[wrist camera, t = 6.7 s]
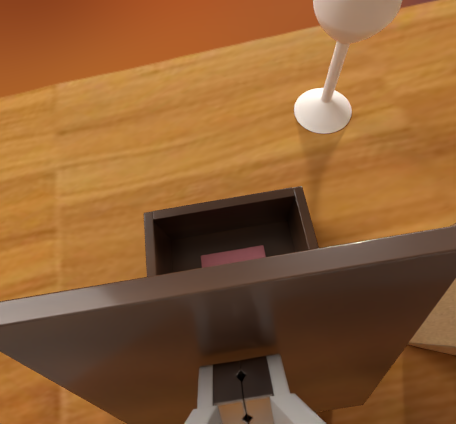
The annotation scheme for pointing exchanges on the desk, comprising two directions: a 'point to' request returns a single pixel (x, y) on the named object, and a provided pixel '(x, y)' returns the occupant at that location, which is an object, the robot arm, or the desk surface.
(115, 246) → the desk surface
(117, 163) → the desk surface
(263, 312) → the chest lid
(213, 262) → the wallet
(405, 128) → the desk surface
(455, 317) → the sandwich container
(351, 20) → the champagne flute
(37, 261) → the desk surface
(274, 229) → the chest
